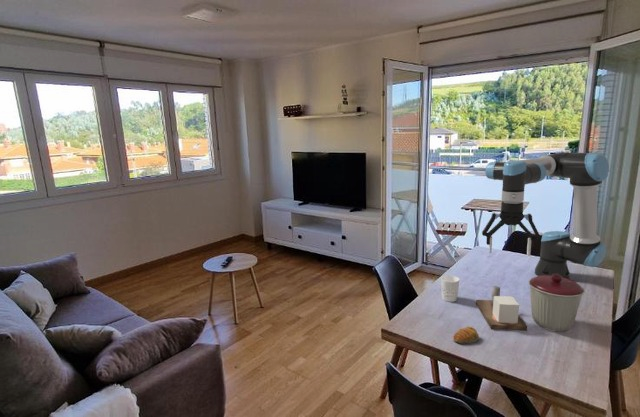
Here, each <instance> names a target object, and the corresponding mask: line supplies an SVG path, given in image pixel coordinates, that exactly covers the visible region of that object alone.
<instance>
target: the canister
mask: <svg viewBox="0 0 640 417" xmlns="http://www.w3.org/2000/svg"><path fill="white" fill-rule="evenodd" d="M528 285H529V288H530V289H529V290H530V293H529V294H530V308H531V310H530V311H531V317H532V320H533V321H534V323H535V324H537V325H538V326H540V327H541V328H544V329H546V330H549V331H554V332H564V331H565V332H566V331H569V330H570V329H571V328H573V326H574V323H575V321H576V317H577V314H578V311H579V307H580V302H581V299H582V296H583V295H584V294H585V293H586V291H585V290H586V289H585V288H584V287H583V286H582V285H581V284H579V283H577V282H575V281H573V280H572V279H570V278H569V279H566V278H563V277H562V276H561V275H559V274H552V275H542V276H537V275H536V276H533V277H531V278H529V280H528Z"/></svg>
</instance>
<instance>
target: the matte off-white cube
mask: <svg viewBox="0 0 640 417" xmlns="http://www.w3.org/2000/svg"><path fill="white" fill-rule="evenodd" d="M519 310H520V303H518V302H517V301H516V299H515V298H514V297H513V296H507V295H504V296H502V295H500V296H494V300H493V315H494V316H495V318H496V320H497V321H498V322H501V323H518V315H519Z"/></svg>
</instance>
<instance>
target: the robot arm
mask: <svg viewBox="0 0 640 417" xmlns="http://www.w3.org/2000/svg"><path fill="white" fill-rule="evenodd" d="M609 172H610V163H609V161H608V159H607V157H606V156H605V155H604V154H602V153H596V152H595V153H594V152H558V153H550V154H545V155H541V156H539V157H537V158H529V159H527V158H526V159H519V160H509V161H491V162H489V163H487V164H486V166H485V172H484V173H485V176H486V178H487V179H489V180H494V181H502V190H501V201H502V202H501V205H500V213H497V212H492V213H491V217H490V218H489V221H488V222H487V223H486V225H485V227H484V228H483V230H482V232H481V234H482V236H484V237H486V245H489V246H488V251H489V254H492V251H493V250H492V248H493V235H494V234H495V233H497V231H498V230H499V229H501V228H502V227H503V226H504V225H506V226H517V225H518V226H519V227H520V228H521V229H522V230H523V231H524V233H525V234H526V235H527V236H528V238H527V246H526V255H527V257H531V251H532V248H534V247H535V241H536V239H540V238H541V240H540V241H541V244H540V255H539V260H538V262H537V263H536V266H535V267H534V275H535V276H536V277H537V276H542V275H552V274H559V275H561V276H562V277H563V278H566V279H569V280H570V270H569V266H568V264H567V263H568V262H571V263H576V264H580V265H582V266H587V267H591V268H595V267H597V266H599V265H600V264H601V262H603V260H604V258H605V256H606V254H607V246H606V244H604V243H601V237H600V236H599V235H598V234H597V228H598V227H597V220H598V218H597V217H598V188H599V186H600V185H602V184H603V181H605V180H606V179H607V178H608V176H609ZM548 176H549V177H556V178H557V177H558V178H564V179H569V185H571V186H572V187H573V234H571V233H570V232H568V231H562V230H561V231H560V230H553V231H551V230H550V231H547V232H544V233H542V236H541V235H540V233H539V231H538V229H537V227H536V225H535V223H534V221H533V215H532V214H531V213H529V212H528V213H527V214H526V213H525V214H524V201H525V186H526V185H528V184H529V185H530V184H536V183H539V182H541V181H543V180H544V179H545V178H546V177H548ZM498 218H500V220H499V221H498V223H496V225H494V226H493V227H492V225H493V224H494V222H495V220H498ZM523 219H525V220H526V221H528V223H529V225H530V227H531V230H532V232H533V233H534V234H532V232H531V231H530V229H528V228H527V226H526V225H525V224H524V223H523V222H522V220H523ZM491 227H492V228H491ZM490 228H491V229H490ZM567 261H568V262H567Z"/></svg>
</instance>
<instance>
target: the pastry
mask: <svg viewBox="0 0 640 417" xmlns="http://www.w3.org/2000/svg"><path fill="white" fill-rule="evenodd" d="M479 339H480V336H479V333H478V332H477V330H476V328H474V327H473V326H469V325H468V326H465V327H462V328H459V329H458V330H457V331H455V334H454V335H453V341H454V342H456V343H458V344H461V345H462V344H470V343H473V342H474V343H475V342H476V341H478V340H479Z"/></svg>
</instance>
